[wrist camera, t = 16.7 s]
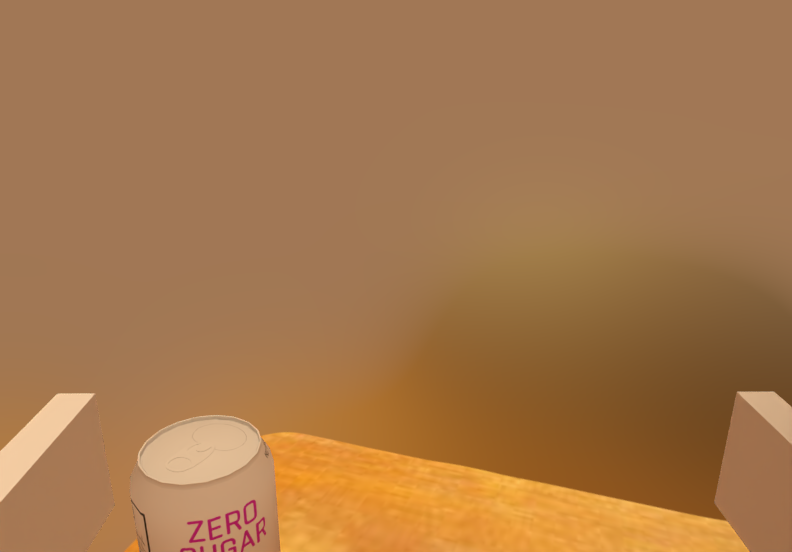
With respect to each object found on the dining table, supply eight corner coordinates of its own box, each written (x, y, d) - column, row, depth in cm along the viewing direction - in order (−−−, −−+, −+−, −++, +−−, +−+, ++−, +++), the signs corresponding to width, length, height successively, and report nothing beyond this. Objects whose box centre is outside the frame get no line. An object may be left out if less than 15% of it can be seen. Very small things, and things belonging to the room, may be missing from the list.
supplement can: (220, 574, 47) (201, 398, 42) (310, 620, 43) (299, 432, 38) (130, 660, 40) (93, 462, 36) (226, 722, 37) (200, 510, 32)
